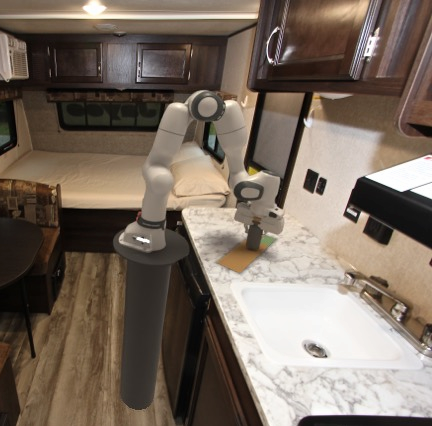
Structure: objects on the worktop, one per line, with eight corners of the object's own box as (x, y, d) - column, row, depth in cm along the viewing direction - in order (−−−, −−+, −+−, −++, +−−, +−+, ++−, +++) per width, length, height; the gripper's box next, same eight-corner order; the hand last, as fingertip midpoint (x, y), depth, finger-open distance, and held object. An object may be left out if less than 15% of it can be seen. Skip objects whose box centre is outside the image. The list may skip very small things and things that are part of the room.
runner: (239, 273, 117) (239, 273, 117) (216, 262, 123) (216, 262, 123) (268, 246, 137) (268, 246, 137) (247, 238, 143) (247, 238, 143)
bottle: (243, 245, 134) (249, 216, 128) (249, 242, 138) (255, 212, 132) (255, 250, 130) (262, 220, 124) (261, 246, 133) (268, 216, 128)
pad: (268, 246, 137) (268, 246, 137) (247, 238, 143) (247, 238, 143) (276, 239, 143) (276, 238, 143) (255, 231, 149) (255, 231, 149)
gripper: (235, 202, 131) (229, 229, 137) (284, 217, 118) (275, 246, 123) (241, 199, 135) (235, 225, 141) (289, 213, 122) (280, 241, 127)
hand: (254, 235), depth 132 cm, fingers closed on bottle, 5 cm apart
